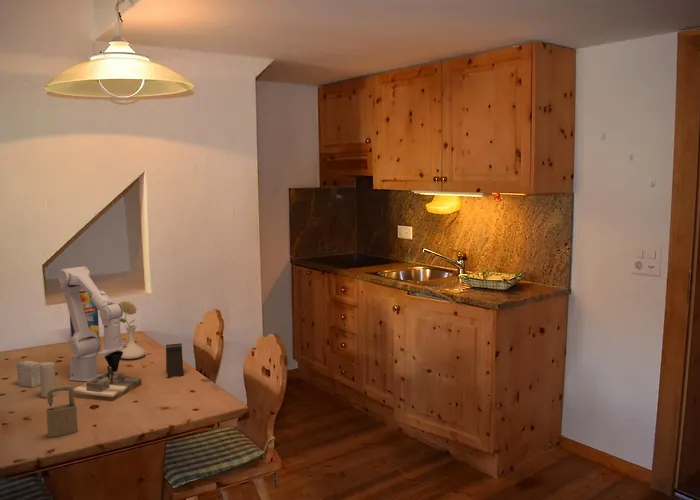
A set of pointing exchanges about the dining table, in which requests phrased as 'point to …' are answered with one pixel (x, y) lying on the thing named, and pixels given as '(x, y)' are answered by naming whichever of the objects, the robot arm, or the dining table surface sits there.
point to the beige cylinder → (47, 378)
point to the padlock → (61, 414)
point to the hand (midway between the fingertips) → (113, 371)
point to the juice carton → (88, 314)
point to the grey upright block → (28, 374)
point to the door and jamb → (107, 387)
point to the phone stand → (174, 360)
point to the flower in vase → (130, 334)
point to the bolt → (110, 374)
